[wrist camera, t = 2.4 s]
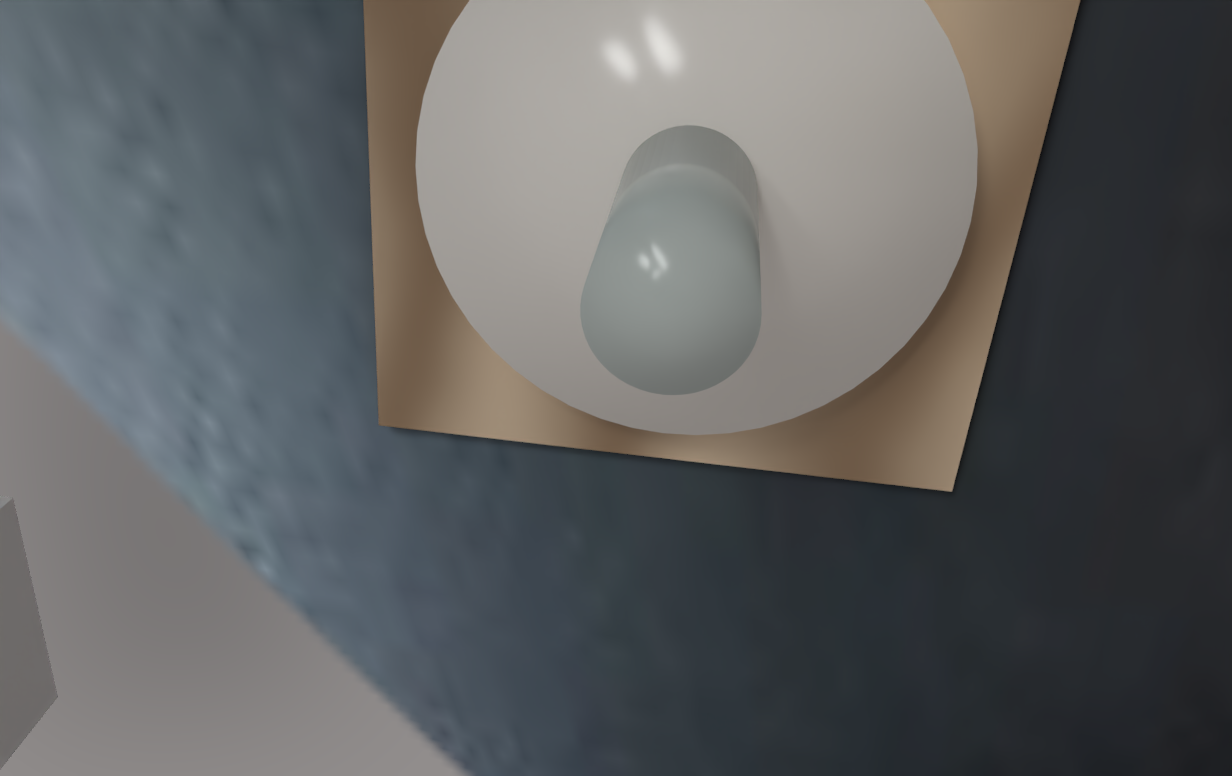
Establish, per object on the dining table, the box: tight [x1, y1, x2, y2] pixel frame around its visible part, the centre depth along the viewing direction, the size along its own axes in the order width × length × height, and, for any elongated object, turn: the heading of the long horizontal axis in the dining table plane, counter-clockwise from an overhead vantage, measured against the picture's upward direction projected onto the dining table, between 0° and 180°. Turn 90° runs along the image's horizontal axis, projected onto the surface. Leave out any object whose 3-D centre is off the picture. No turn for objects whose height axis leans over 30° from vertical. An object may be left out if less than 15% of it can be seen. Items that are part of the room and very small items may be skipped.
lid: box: [415, 0, 978, 435], centre depth 23 cm, size 13×13×8 cm
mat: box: [363, 0, 1080, 492], centre depth 27 cm, size 16×16×1 cm
